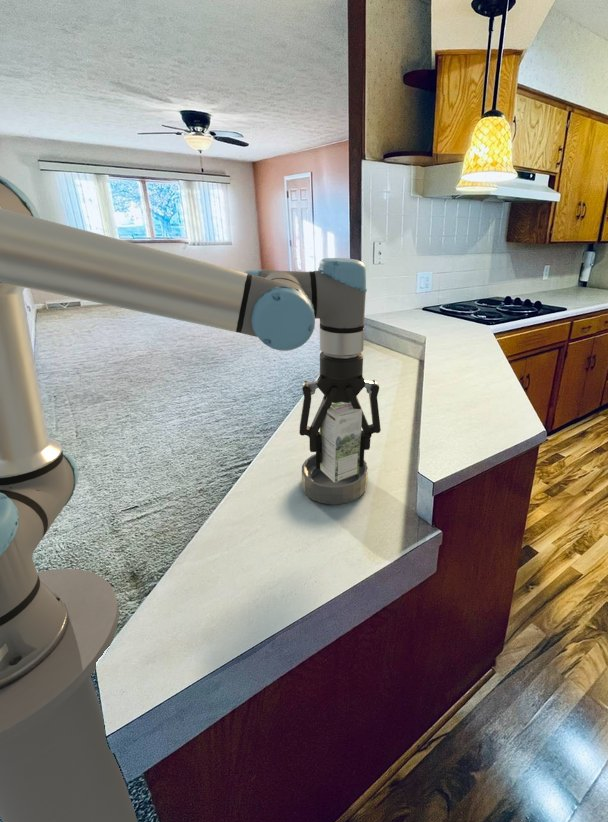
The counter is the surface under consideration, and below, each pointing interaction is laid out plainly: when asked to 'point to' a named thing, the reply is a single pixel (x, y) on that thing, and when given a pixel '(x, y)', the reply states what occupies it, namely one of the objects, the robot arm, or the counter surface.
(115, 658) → the counter surface
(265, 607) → the counter surface
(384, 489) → the counter surface
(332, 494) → the bowl
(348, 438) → the syrup box
